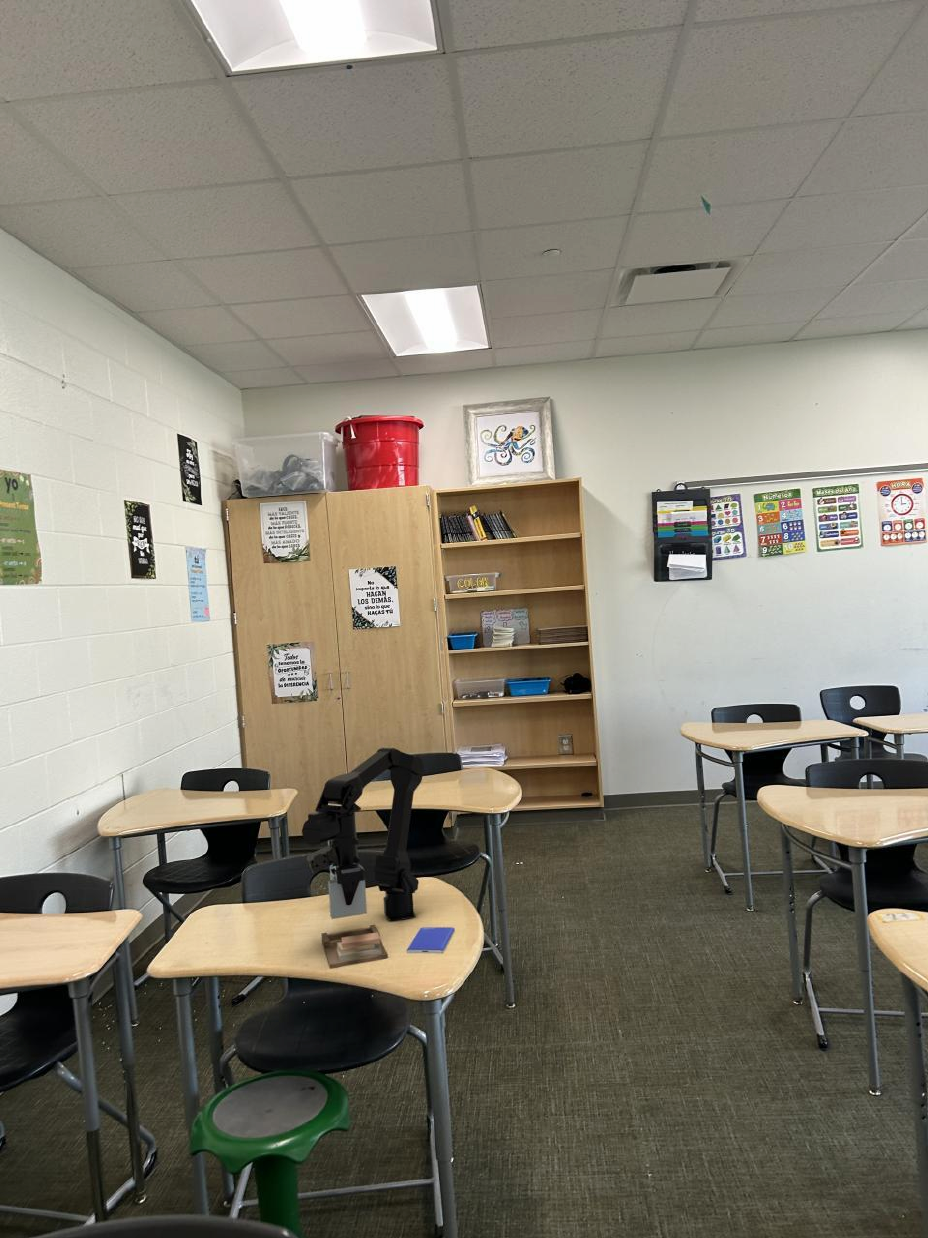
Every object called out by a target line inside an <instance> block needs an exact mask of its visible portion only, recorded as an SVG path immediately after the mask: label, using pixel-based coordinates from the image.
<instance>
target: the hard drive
mask: <svg viewBox="0 0 928 1238" xmlns="http://www.w3.org/2000/svg"><path fill="white" fill-rule="evenodd" d="M455 932H456V929H455V927H453V926H452V927H451V926H450V927H449V926H447V927H445V926H443V927H441V926H440V927H437V926H436V927H434V926H432V927H431V926H428V927H427V926H426V927H420V928H419V929H418V931H417V933H416V934H415V936H414V938H413V939H412V940H411V942H410V944H409V946H408V947H407V949H406V954H444V953H445V951H446V950H447V948H448V945H449V944H450V941H451V940H452V937H453V935H454V934H455Z"/></svg>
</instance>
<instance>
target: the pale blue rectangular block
mask: <svg viewBox="0 0 928 1238" xmlns="http://www.w3.org/2000/svg"><path fill="white" fill-rule="evenodd" d="M327 882H328V883H327V884H328V885H327V886H328V898H329V913H330V918H331V920H333V919H340V918H346V917H352V916H358V915H365V914H368V908H367V895H366V894H367V892H366V880H364V881H360V882H359V885H358V887H357V890H356V893H355V895H354V898H353V901H352V904H351V905H346V902H345V898H344V894H343V890H342V886H341V884H337V882H336V880H331V879H329V880H327Z"/></svg>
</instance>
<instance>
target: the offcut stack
mask: <svg viewBox="0 0 928 1238" xmlns="http://www.w3.org/2000/svg"><path fill="white" fill-rule="evenodd" d="M379 936H380V932H379V933H378V932H377V933H370V934H363V935H356V936H348V937H342V942H339V943H337V955H338V958H339V961H346V960H351V959H357V958H362V957H368V956H374V955H379V954H382V953H381V947H380V945H379V943H380V940H381V938H380V937H381V936H380V937H379Z"/></svg>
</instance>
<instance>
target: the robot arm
mask: <svg viewBox="0 0 928 1238" xmlns="http://www.w3.org/2000/svg"><path fill="white" fill-rule="evenodd" d="M386 771H388V772H389V780H390V783H391V785H392V787H393V796H392V803H391V810H390V816H389V817H390V818H389V825H388V831H387V832H388V833H387V839H386V845H385V846H386V847H385V849H384V851H383V852H381V853H382V854H377V855H376V858H375V866H374V869H373V873H374V880H375V881H376V884H377V887H378V889H379V892H384V893H385V896H383V899H382V900H383V912H384V915H385V917H387V919H388V921H389V922H393V921H401V920H407V919H412V918H416V916H417V914H416V913H415V911H414V894H415V893H416V891H417V890H418V888H419V884H420V883H419V879H417V877H416V876H414V874H413V873H412V872H411V869H412V868H411V864H412V863H411V861H410V858H409V855H408V853H407V847H408V846H407V845H408V837H409V831H410V822H411V817H412V816H411V815H412V808H413V802H414V801H413V800H414V793H415V791H416V790H417V789H418V787H419V786H420V784H421V783H422V781H423V777H424V772H425V763H424V761H423V760H422V758H421V757H420V756H418V755H412V754H409V753H406V752H403V751H401V750H399V749H397V748H395V747H380V748H378V749H377V751H376V752H375V753H374V754H372V755H371V756H370V757H368V758H367V759H365V761H364V760H363V762H362V763H361V764H359V765H358V766H357V767H355V768H353V769H352V770H351V771H349V772H347V773H343V774H339V775H336V776H334V777H332V778H329V779H328V780H327V781H326V782H325V783H324V787H323V789H322V792H321V795H320V797H319V800H318V802H317V804H316V807H315V809H314V810H315V812H311V813H308V814H307V820H306V821H305V822H304V823H303V825H302V828H301V834H302V838H303V840H304V842H305V843H306V844H307V845H309V846H311V847H314V846H318V845H320V844H321V845H322V844H324V843H326V842H328V841H329V846H328V845H327V846H325V847H322V848H320V849H318V850H316V851H314V852H312V853H311V854H309V855H307V856H306V860H307V864H308V865H309V868H310V871H312V874H317V873H319V872H320V871H321V870H323V869H325V868H327V867H330V865H333V867H334V868H333V869H331V872H332V873H333V874H334V875H335V877H334V878H335V880H336V882H337V884H341V886H342V890H343V894H344V898H345V902H346V905H351V904H352V901H353V898H354V895H355V893H356V890H357V887H358V885H359V882H360V881H364V880H365V881H366V879H367V878H366V871H365V869H364V867H363V866H362V865H361V864H360V857H359V855H358V845H359V839H358V838H357V827H356V825H357V823H356V813H357V812H360V811H362V808H361V806H359V804H356V803H357V801H358V800H359V799H360V798H361V797H362V796H363V791H364V788H365V787H366V786H368V785H369V784H370V783H372V781H374V780H375V779H377V778H378V777H379V776H380V775H382V774H383V773H384V772H386ZM354 863H355V864H354Z"/></svg>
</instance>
